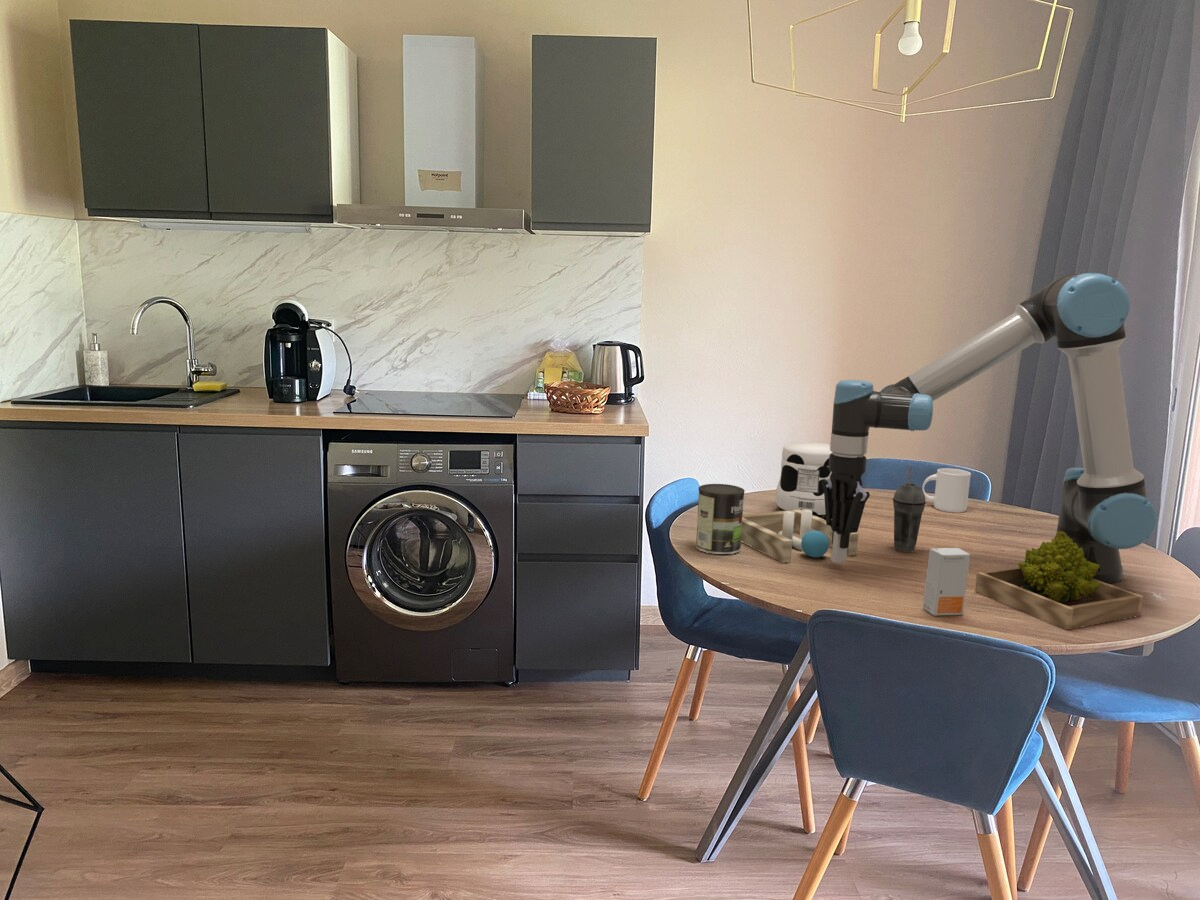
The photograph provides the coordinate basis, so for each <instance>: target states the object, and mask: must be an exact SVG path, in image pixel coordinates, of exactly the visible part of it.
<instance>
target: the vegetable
mask: <svg viewBox="0 0 1200 900" xmlns="http://www.w3.org/2000/svg"><path fill="white" fill-rule="evenodd" d="M1056 533H1057V534H1056ZM1056 533H1055V536H1056V537H1055V536H1054V537H1053V538H1052V539H1051V541H1046V542H1045V541H1042V542H1041V544H1040V546H1039V547H1037V549H1036V548H1034V547H1031V549H1026V550H1025V555H1024V556H1025V558H1024V562H1017V565H1018V567H1020V569H1021V571H1022V572H1023V576H1024V577H1025V578H1024V580H1023V582H1024V583H1025V584H1023V586H1022V587H1021V588H1023V589H1025V590H1028V591H1031V592H1033V593H1036V594H1038V595H1041V596H1043V597H1046V598H1048V599H1051V600H1054V601H1056V602H1062V603H1064V602H1067V601H1068V600H1078V601H1079V600H1080V599H1082V598H1085V597H1088V594H1092V592H1094V591H1095V590H1096V589H1097V588H1098V587H1099V586H1100V585H1101V583H1098V582H1096V581H1093V580H1092V579H1093V578H1092V577H1093V576H1095V575H1096V574H1095V573H1096V571H1097V570H1098V569H1099V567H1100V565H1098V564H1096V563H1091V562H1090V561H1088V562H1087V560H1086V559H1085V557H1084V552H1083V548H1082V547H1081V548H1078V546H1077V544H1076V543H1073V539H1070V537H1068V536H1067V534H1066V533H1065V532H1063V531H1058V532H1057V531H1056Z"/></svg>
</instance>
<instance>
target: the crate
mask: <svg viewBox="0 0 1200 900" xmlns="http://www.w3.org/2000/svg"><path fill="white" fill-rule="evenodd" d="M1024 578H1025V577H1024V576H1023V572H1022V571H1021V569H1020V567H1019V566H1015V567H1013V566H1012V567H1007V568H999V569H994V570H993V569H991V570H987V571H979V572H978V571H977V572H976V581H975V586H974V592H975V591H976V592H975V593H977V592H978V593H977V594H980V595H983V596H984V597H987V598H989V599H992V600H995V601H996V602H999V603H1001V602H1002V603H1001V604H1004V605H1007V606H1009V607H1010V608H1013V609H1016V610H1018V611H1020V612H1023V613H1024V614H1028V615H1030V616H1032V617H1035V618H1037V619H1040V620H1042V621H1043V622H1047V623H1048V624H1051V623H1052V625H1053V624H1054V626H1056V625H1057V626H1056V627H1058V626H1059V627H1058V628H1061V627H1062V628H1061V629H1063V628H1064V630H1065V629H1070V630H1073V629H1072V628H1075V629H1077V628H1076V627H1080V628H1083V627H1082V626H1086V627H1090V626H1089V625H1091V626H1095V625H1094V624H1097V625H1101V624H1100V623H1102V624H1106V623H1105V622H1107V623H1111V622H1110V621H1113V622H1116V621H1115V620H1118V621H1120V620H1119V619H1123V620H1125V619H1124V618H1129V619H1131V618H1130V617H1134V618H1136V617H1135V616H1140V617H1141V615H1142V611H1143V610H1142V609H1143V604H1144V595H1141V594H1138V593H1135V592H1133V591H1130V590H1127V589H1123V588H1121V587H1118V586H1115V585H1113V584H1111V583H1104V582H1102V581H1099V580H1096V579H1092V580H1093V581H1096V582H1098V583H1101V585H1100V586H1099V587H1098V588H1097V589H1096V590H1095V591H1094V592H1092V594H1088V597H1086V598H1085V599H1088V598H1089V599H1088V600H1090V599H1091V600H1090V601H1092V602H1088V603H1087V602H1086V603H1081V604H1075V605H1070V606H1069V605H1066V604H1063V603H1061V602H1060V601H1057V602H1056V601H1054V600H1052V599H1048V598H1046V597H1043V596H1041V595H1038V594H1036V593H1033V592H1031V591H1028V590H1025V589H1023V588H1022V587H1023V584H1025V583H1024V582H1023V580H1024ZM1093 600H1094V601H1093Z"/></svg>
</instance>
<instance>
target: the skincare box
mask: <svg viewBox="0 0 1200 900" xmlns="http://www.w3.org/2000/svg"><path fill="white" fill-rule="evenodd" d="M970 560H971V554H970V553H968V552H967V551H965V550H963V549H961V548H960V547H942V548H941V547H940V548H929V552H928V561H927V562H928V563H927V569H926V577H925V578H926V579H925V585H924V586H925V587H924V594H923V595H924V596H923V603H922V609H924V610H925V611H927V612H928V613H930V614H931V615H932V616H935V617H936V616H963V614H964V606H965V598H966V592H967V591H966V590H967V584H968V575H969V568H970V562H971V561H970Z"/></svg>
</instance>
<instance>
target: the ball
mask: <svg viewBox="0 0 1200 900" xmlns="http://www.w3.org/2000/svg"><path fill="white" fill-rule="evenodd" d="M801 546H802V549H803V551H802V552H803V553H804V554H805V555H806V556H808V557H810V558H814V559H815V558H820V557H822V556H824V555H825V554H826V553H827V552H828V550H829V548H830V547H829V541H828V538H827V537H826V535H825V534H824V533H822V532H820V531H810V532H808V533H806V534H805V535H804V536H803V538H802V541H801Z"/></svg>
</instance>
